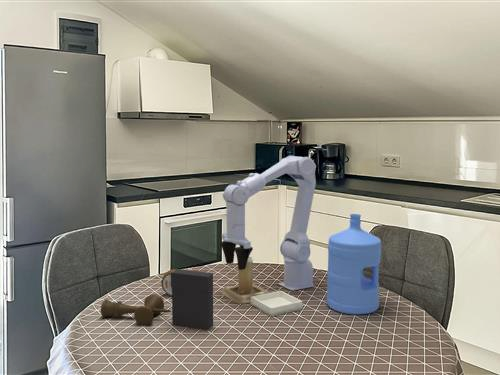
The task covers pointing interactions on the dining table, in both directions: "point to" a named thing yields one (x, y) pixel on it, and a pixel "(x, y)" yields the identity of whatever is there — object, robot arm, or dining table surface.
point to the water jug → (353, 270)
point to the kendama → (135, 309)
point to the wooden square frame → (232, 294)
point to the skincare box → (246, 279)
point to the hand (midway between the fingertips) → (235, 266)
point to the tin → (168, 282)
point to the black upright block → (192, 299)
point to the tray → (276, 303)
